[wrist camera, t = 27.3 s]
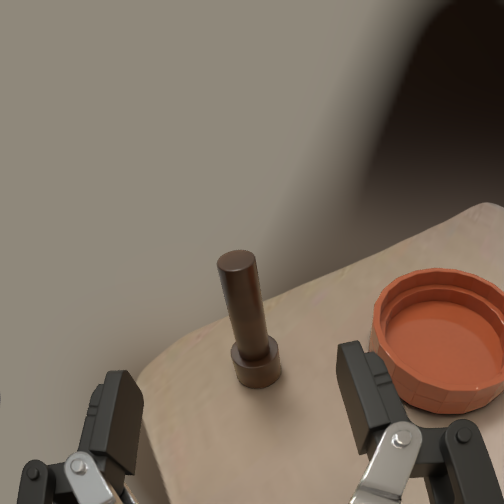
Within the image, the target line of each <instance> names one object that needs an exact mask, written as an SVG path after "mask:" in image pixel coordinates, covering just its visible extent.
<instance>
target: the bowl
mask: <svg viewBox="0 0 504 504" xmlns="http://www.w3.org/2000/svg"><path fill="white" fill-rule="evenodd" d="M369 351H370V352H372V351H374V352H375V353H376V354H377V355H378V356H379V357H381V358H382V359H383V360H384V363H385V365H386V367H387V369H388V373H389V374H390V376H391V379H392V382H393V383H394V386H395V388H396V390H397V393H398V395H399V397H400V398H401V399H403V400H404V401H406V402H407V403H408V404H410V405H412V406H415V407H418V408H421V409H424V410H427V411H430V412H433V413H437V414H462V413H466V412H469V411H472V410H475V409H478V408H481V407H484V406H486V405H487V404H488V403H490V402H491V401H492V400H493V399H494V398H496V397H497V396H498V395H499V394H500V393H501V392H502V391H503V390H504V292H503V291H502V290H501V289H499V288H498V287H497V286H496V285H494V284H493V283H491V282H489V281H487V280H485V279H483V278H481V277H479V276H477V275H474V274H471V273H467V272H463V271H460V270H455V269H443V268H431V269H424V270H417V271H413V272H411V273H408V274H406V275H403V276H401V277H398V278H396V279H395V280H394V281H393V282H391V283H390V284H389V285H388V286H386V287H385V288H384V289H383V291H382V292H381V294H380V296H379V298H378V299H377V301H376V303H375V305H374V312H373V319H372V327H371V334H370V343H369Z"/></svg>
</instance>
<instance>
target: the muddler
mask: <svg viewBox="0 0 504 504" xmlns="http://www.w3.org/2000/svg"><path fill="white" fill-rule="evenodd" d="M217 268H218V272H219V276H220V280H221V285H222V289H223V292H224V297H225V301H226V305H227V309H228V313H229V317H230V321H231V324H232V328H233V332H234V336H235V340H236V342H235V343H234V344H233V346H232V349H231V357H232V361H233V364H234V368H235V371H236V374H237V377H238V380H239V381H240V382H241V383H242V384H243V385H245V386H247V387H250V388H264V387H267V386H269V385H271V384H273V383H274V382H275V381H276V380H277V379H278V377H279V376H280V373H281V365H280V357H279V349H278V344H277V342H276V341H275V340H274V339H273V338H272V337H271V336H269V335H268V334H267V327H266V321H265V315H264V309H263V302H262V297H261V290H260V284H259V278H258V272H257V266H256V260H255V256H254V254H253V253H251V252H249V251H246V250H235V251H231V252H228V253H225V254H224V255H222V256H221V257H220V258H219V259H218V261H217Z"/></svg>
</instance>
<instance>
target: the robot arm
mask: <svg viewBox="0 0 504 504" xmlns="http://www.w3.org/2000/svg"><path fill="white" fill-rule="evenodd" d="M336 375H337V381H338V385H339V388H340V391H341V395H342V398H343V401H344V405H345V408H346V411H347V415H348V418H349V422H350V425H351V428H352V432H353V435H354V439H355V442H356V446H357V450H358V453H359V455H362V454H366V453H367V455H368V459H369V464H368V466H367V468H366V470H365V472H364V474H363V476H362V478H361V480H360V482H359V484H358V486H357V488H356V490H355V492H354V494H353V495H352V497H351V499H350V501H349V503H348V504H401V496H402V493H403V491H404V489H405V486H406V484H407V481H408V479H409V478H418V477H424V481H425V485H426V488H427V492H428V496H429V500H430V504H504V499H503V496H502V492H501V489H500V486H499V483H498V480H497V477H496V474H495V471H494V468H493V465H492V462H491V459H490V457H489V454H488V451H487V449H486V446H485V443H484V441H483V438H482V436H481V433H480V431H479V429H478V427H477V425H476V424H475V423H473V422H472V421H470V420H466V419H460V420H456V421H454V422H453V423H451V424H450V425H449V427H446V428H422V427H419V426H417V425H415V424H414V423H412V422H411V421H410V419H409V418H408V416H407V415H406V412H405V410H404V407H403V405H402V402H401V400H400V397H399V395H398V393H397V390H396V388H395V386H394V383H393V382H392V379H391V376H390V374H389V373H388V369H387V367H386V365H385V363H384V360H383V359H382V358H381V357H379V356H378V355H377V354H376V353H375V352H374V351H372V352H368V353H364V351H363V349H362V346H361V344H360V342H359V341H358V340H357V341H352V342H347V343H343V344H339V345H338V351H337V363H336ZM143 407H144V399H143V395H142V392H141V390H140V389H139V387H138V386H137V384H136V383H135V381H134V380H133V378H132V377H131V375H130V374H129V372H128V371H127V370H118V371H108V372H107V374H106V378H105V381H104V384H99V385H98V386H97V388H96V389H95V390H94V392H93V394H92V396H91V399H90V403H89V408H88V411H87V417H86V418H85V422H84V427H83V431H82V435H81V439H80V443H79V448H78V450H77V452H75V453H73V454H71V455H70V456H69V457H68V458H67V460H66V461H65V462H63V463H57V464H52V465H46V464H44V463H43V462H42V461H40V460H31V461H29V462H28V463H27V464H26V465H25V466H24V468H23V471H22V475H21V481H20V486H19V492H18V498H17V504H52V503H53V504H139V503H138V501H137V500H136V498H135V497H134V495H133V494H132V492H131V491H130V489H129V488H128V486H127V485H126V483H125V482H124V479H125V475H135V466H136V458H137V450H138V442H139V435H140V427H141V420H142V414H143Z"/></svg>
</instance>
